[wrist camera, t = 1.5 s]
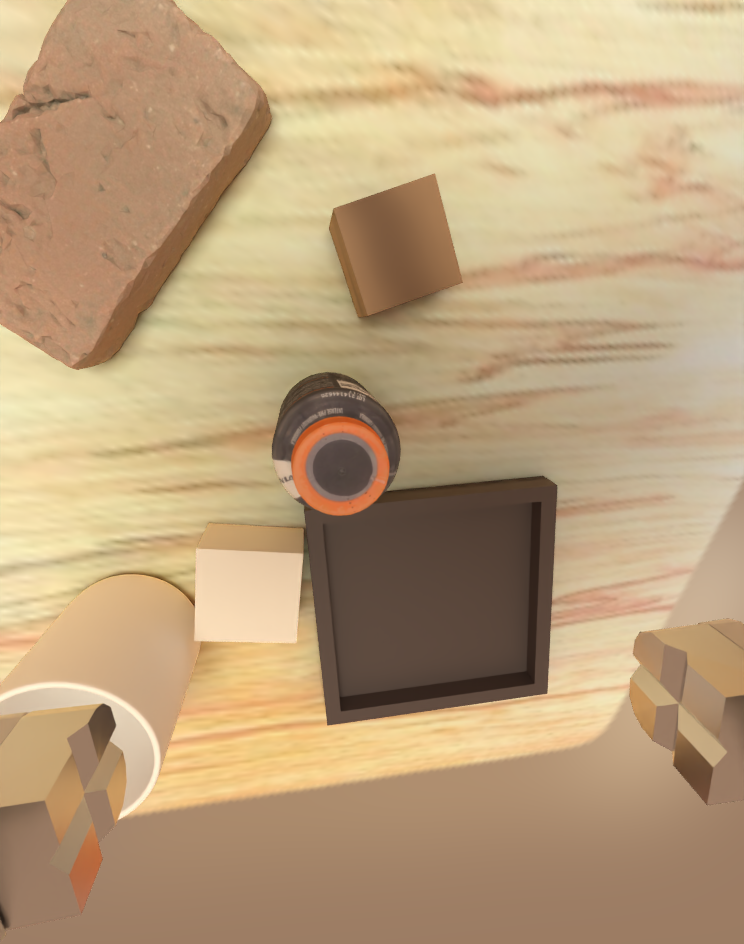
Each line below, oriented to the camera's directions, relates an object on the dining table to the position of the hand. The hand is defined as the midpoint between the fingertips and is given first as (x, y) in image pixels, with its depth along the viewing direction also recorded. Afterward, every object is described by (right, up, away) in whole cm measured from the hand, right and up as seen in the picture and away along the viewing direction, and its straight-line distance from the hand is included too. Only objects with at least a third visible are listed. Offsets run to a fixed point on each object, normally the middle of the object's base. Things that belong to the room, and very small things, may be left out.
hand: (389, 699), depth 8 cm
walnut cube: (+1, +16, +21) cm, 26 cm away
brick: (-14, +18, +19) cm, 29 cm away
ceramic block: (-8, -3, +25) cm, 27 cm away
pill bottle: (-3, +7, +23) cm, 24 cm away
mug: (-17, -8, +26) cm, 32 cm away
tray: (+4, -5, +27) cm, 28 cm away
